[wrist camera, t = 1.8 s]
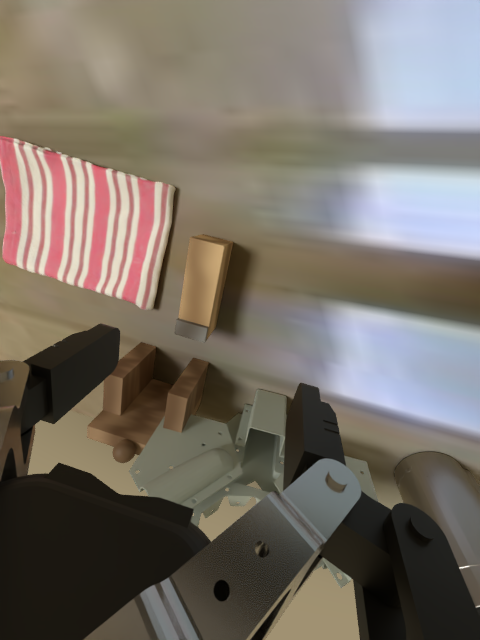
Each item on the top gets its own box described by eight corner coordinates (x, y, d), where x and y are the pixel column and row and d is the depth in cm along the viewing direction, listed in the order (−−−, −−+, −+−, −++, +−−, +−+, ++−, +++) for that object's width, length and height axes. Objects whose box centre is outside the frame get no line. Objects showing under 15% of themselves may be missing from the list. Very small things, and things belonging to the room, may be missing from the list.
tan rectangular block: (233, 241, 35) (223, 246, 30) (216, 326, 40) (204, 342, 35) (203, 234, 36) (188, 237, 30) (190, 318, 40) (174, 334, 35)
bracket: (180, 406, 46) (103, 536, 27) (184, 370, 43) (102, 487, 25) (350, 452, 43) (392, 631, 24) (365, 416, 40) (426, 587, 22)
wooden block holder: (208, 362, 42) (169, 428, 29) (200, 405, 45) (161, 482, 32) (141, 342, 43) (74, 397, 30) (137, 385, 46) (75, 452, 33)
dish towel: (12, 135, 36) (-15, 128, 33) (180, 186, 34) (168, 183, 31) (18, 262, 43) (-4, 266, 39) (159, 309, 41) (148, 318, 38)
